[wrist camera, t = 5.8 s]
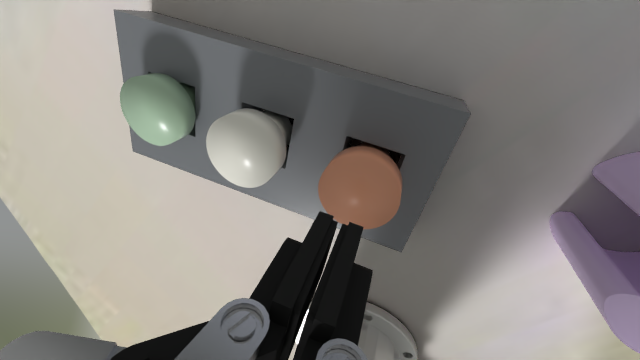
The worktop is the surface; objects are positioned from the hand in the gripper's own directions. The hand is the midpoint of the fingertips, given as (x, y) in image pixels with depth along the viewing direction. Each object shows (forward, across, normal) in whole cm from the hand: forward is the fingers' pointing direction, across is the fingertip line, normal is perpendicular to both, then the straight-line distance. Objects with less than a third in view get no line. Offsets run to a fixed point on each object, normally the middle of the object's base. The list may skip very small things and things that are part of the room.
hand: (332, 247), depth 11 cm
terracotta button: (+10, 0, +1) cm, 10 cm away
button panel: (+11, +7, +1) cm, 13 cm away
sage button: (+11, +14, +1) cm, 17 cm away
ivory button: (+10, +7, +1) cm, 12 cm away
